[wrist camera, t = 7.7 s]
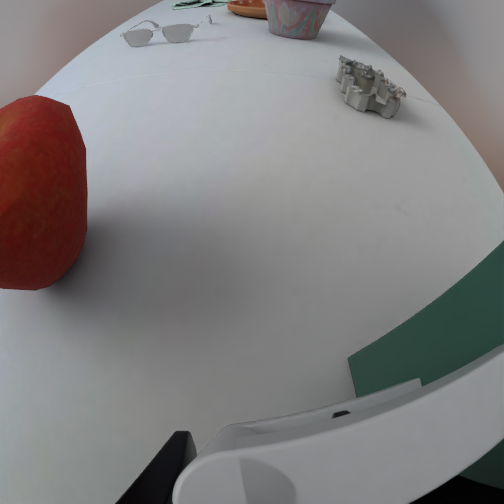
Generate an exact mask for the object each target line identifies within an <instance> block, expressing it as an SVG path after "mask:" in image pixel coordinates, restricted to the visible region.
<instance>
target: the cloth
mask: <svg viewBox="0 0 504 504" xmlns="http://www.w3.org/2000/svg"><path fill="white" fill-rule="evenodd" d="M231 1H232V0H190V1H185V2H180V3H175V4H172V6H175V7H174V8H173V10H175V9H183V8H193V7H199V6H201V5H202V4H203V5H202V6H221V5H224V4H227V3H228V2H231Z"/></svg>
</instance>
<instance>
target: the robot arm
mask: <svg viewBox="0 0 504 504" xmlns="http://www.w3.org/2000/svg"><path fill="white" fill-rule="evenodd" d="M347 414H350V412H349V411H347V410H343V411H339V412H335V413H334V414H333V415H332V419H333V418H337V417H340V416H344V415H347ZM196 457H197V454H196V447H195V444H194V441H193V439H192V436H191V433H190V432H189V431H176V432H174V434H173V435H172V436H171V437H170V439H169V440H168V441H167V442H166V444H165V445H164V446H163V447H162V449H161V450H160V451H159V452H158V454H157V455H156V456H155V457H154V459H153V460H152V461H151V462H150V463H149V465H148V466H147V467H146V468H145V469H144V471H143V472H142V473H141V474H140V475H139V477H138V478H137V479H136V480H135V481H134V483H133V484H132V485H131V486H130V487H129V488H128V490H127V491H126V492H125V493H124V494H123V495H122V496H121V498H120V499H119V500H118V501H117V502H116V503H115V504H173V502H172V495H173V489H174V486H175V483H176V481H177V479H178V477H179V475H180V474H181V473H182V472H183V470H184V469H185V468H186V467H187V466H188V465H189V464H190V463H191V462H192V461H193V460H194V459H195V458H196ZM409 504H504V489H502V488H497V487H494V486H490V485H487V484H484V483H481V482H477V481H474V480H471V479H468V478H466V477H463V476H460V475H456V476H455V477H453V478H452V479H450V480H449V481H447V482H446V483H444V484H443V485H441V486H439V487H438V488H436V489H434V490H433V491H431V492H429V493H428V494H426V495H424V496H422V497H420V498H419V499H417V500H415V501H413V502H411V503H409Z"/></svg>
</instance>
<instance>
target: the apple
mask: <svg viewBox="0 0 504 504" xmlns="http://www.w3.org/2000/svg"><path fill="white" fill-rule="evenodd" d="M86 232H87V173H86V148H85V145H84V142H83V139H82V136H81V133H80V130H79V128H78V125H77V123H76V121H75V118H74V116H73V113H72V111H71V108H70V106H69V105H66V104H64V103H61V102H58V101H56V100H53V99H50V98H47V97H43V96H38V95H34V96H29V97H24V98H20V99H18V100H16V101H14V102H12V103H10V104H8V105H6V106H5V107H3V108H1V109H0V288H3V289H17V290H38V289H42V288H45V287H48V286H50V285H51V284H53V283H54V282H55V281H56V280H58V279H59V278H60V277H62V276H63V275H64V274H65V273H66V271H67V270H68V269H69V268H70V267H71V266H72V265H73V264H74V262H75V261H76V260H77V258H78V256H79V254H80V252H81V250H82V248H83V246H84V243H85V237H86Z"/></svg>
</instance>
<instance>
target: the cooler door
mask: <svg viewBox="0 0 504 504" xmlns="http://www.w3.org/2000/svg"><path fill="white" fill-rule="evenodd" d="M348 361H349V365H350V369H351V374H352V378H353V382H354V387H355V391H356V396H357V398H355V399H352V400H348V401H345V402H341V403H338V404H334V405H330V406H327V407H323V408H319V409H315V410H310V411H306V412H302V413H297V414H292V415H287V416H282V417H277V418H271V419H265V420H259V421H253V422H246V423H238V424H232V425H228V426H226V427H224V428H223V429H222V430H221V431H220V432H219V433H218V434H217V435H216V436H215V437H214V438H213V439H212V440H211V442H210V443H209V444H208V445H207V446H206V447H205V448H204V449H203V450H202V451H201V452H200V453H199V455H198V456H197V457H196V458H195V459H194V460H193V461H192V462H191V463H190V464H189V465H188V466H187V467H186V468H185V469H184V470H183V472H182V473H181V474H180V475H179V477H178V479H177V481H176V483H175V486H174V489H173V495H172V502H173V504H409V503H411V502H413V501H415V500H417V499H419V498H420V497H422V496H424V495H426V494H428V493H429V492H431V491H433V490H434V489H436V488H438V487H439V486H441V485H443V484H444V483H446V482H447V481H449V480H450V479H452V478H453V477H455V476H456V475H460V476H463V477H466V478H468V479H471V480H474V481H477V482H481V483H484V484H487V485H490V486H494V487H497V488H502V489H504V241H503V242H502V243H501V244H500V245H499V246H498V247H496V248H495V249H494V250H493V251H492V252H491V253H490V254H489V255H488V256H487V257H486V258H485V259H484V260H483V261H481V262H480V263H479V264H478V265H477V266H476V267H475V268H474V269H472V270H471V271H470V272H469V273H468V274H467V275H465V276H464V277H463V278H462V279H461V280H459V281H458V282H457V283H456V284H455V285H453V286H452V287H451V288H450V289H448V290H447V291H446V292H445V293H443V294H442V295H441V296H439V297H438V298H437V299H436V300H434V301H433V302H432V303H430V304H429V305H428V306H426V307H425V308H423V309H422V310H421V311H419V312H418V313H417V314H415V315H414V316H412V317H411V318H410V319H408V320H407V321H405V322H404V323H402V324H401V325H399V326H398V327H396V328H395V329H393V330H392V331H390V332H389V333H387V334H386V335H384V336H383V337H381V338H379V339H378V340H376V341H375V342H373V343H371V344H370V345H368V346H367V347H365V348H363V349H362V350H360V351H358V352H357V353H355V354H353V355H351V356H350V357H348ZM343 410H347V411H349V412H350V414H347V415H344V416H340V417H337V418H333V419H332V415H333V414H334V413H335V412H339V411H343Z"/></svg>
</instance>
